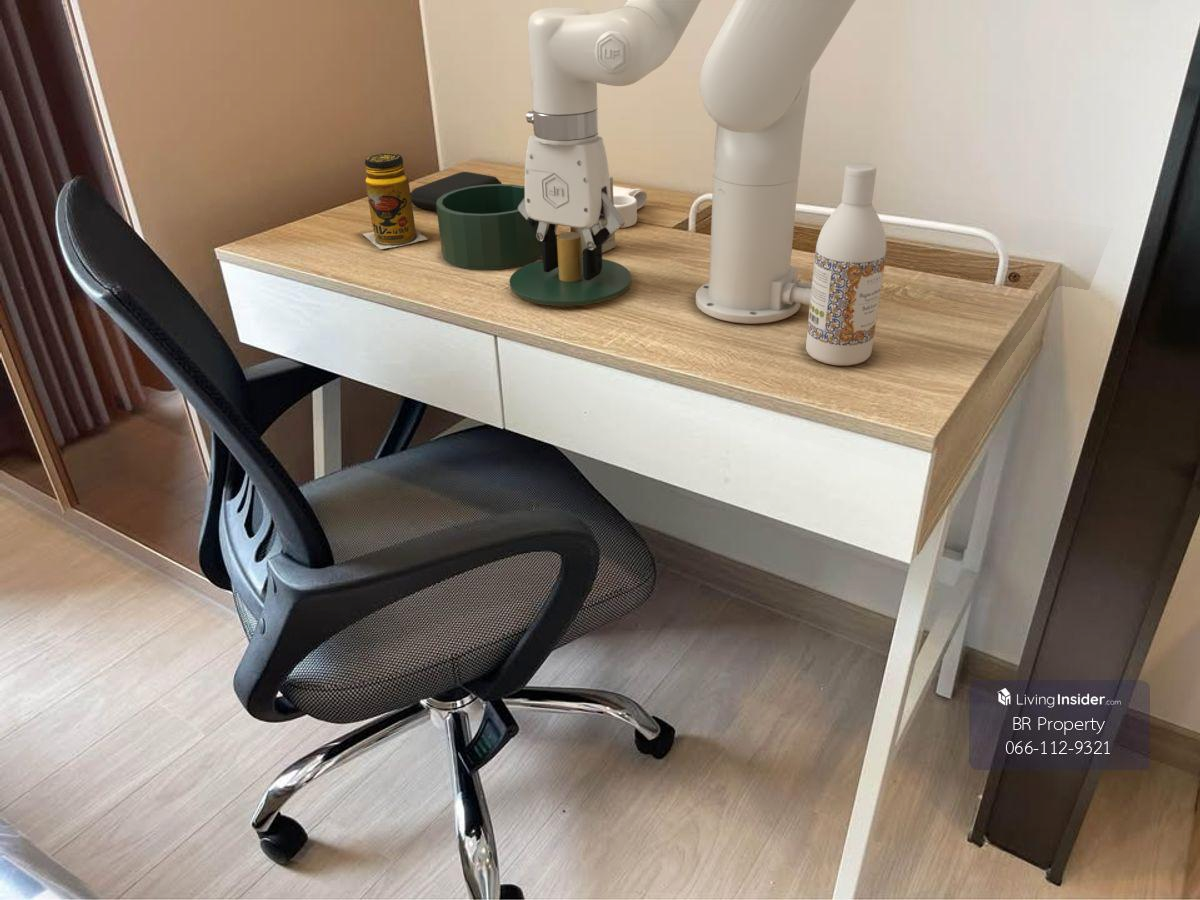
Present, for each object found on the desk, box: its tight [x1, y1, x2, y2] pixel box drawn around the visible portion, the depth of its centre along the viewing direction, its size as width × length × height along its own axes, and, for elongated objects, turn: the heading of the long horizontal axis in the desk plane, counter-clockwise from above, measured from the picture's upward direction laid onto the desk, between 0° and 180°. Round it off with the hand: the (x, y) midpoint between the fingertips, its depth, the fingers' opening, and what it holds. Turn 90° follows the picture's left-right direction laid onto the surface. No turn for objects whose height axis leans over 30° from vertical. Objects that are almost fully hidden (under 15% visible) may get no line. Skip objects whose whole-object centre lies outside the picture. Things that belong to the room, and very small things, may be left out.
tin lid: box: [509, 231, 633, 307], centre depth 115 cm, size 16×16×7 cm
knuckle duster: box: [613, 184, 648, 229], centre depth 142 cm, size 3×18×15 cm
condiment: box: [361, 152, 428, 250], centre depth 132 cm, size 7×8×12 cm
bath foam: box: [805, 162, 887, 367], centre depth 93 cm, size 7×7×20 cm
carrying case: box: [410, 171, 503, 212], centre depth 150 cm, size 11×3×15 cm
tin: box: [436, 183, 542, 271], centre depth 127 cm, size 15×15×8 cm
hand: (572, 271), depth 116 cm, fingers open, 5 cm apart
